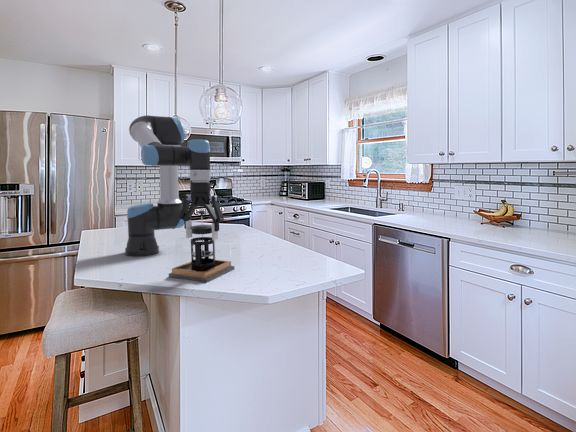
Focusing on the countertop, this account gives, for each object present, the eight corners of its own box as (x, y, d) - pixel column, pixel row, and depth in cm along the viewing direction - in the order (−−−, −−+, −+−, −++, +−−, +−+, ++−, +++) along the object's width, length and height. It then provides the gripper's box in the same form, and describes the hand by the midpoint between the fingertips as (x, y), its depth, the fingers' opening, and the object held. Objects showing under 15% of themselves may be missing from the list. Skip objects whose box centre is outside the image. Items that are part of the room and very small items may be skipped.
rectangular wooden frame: (168, 277, 133) (168, 268, 133) (199, 264, 151) (199, 257, 150) (206, 282, 127) (206, 273, 127) (234, 269, 144) (234, 261, 144)
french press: (196, 265, 145) (194, 209, 142) (219, 265, 144) (217, 209, 141) (185, 273, 133) (183, 213, 130) (210, 274, 132) (208, 213, 129)
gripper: (168, 181, 135) (170, 237, 138) (221, 182, 126) (222, 242, 129) (181, 180, 142) (183, 234, 145) (232, 181, 133) (233, 239, 136)
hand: (201, 238), depth 137 cm, fingers open, 11 cm apart
